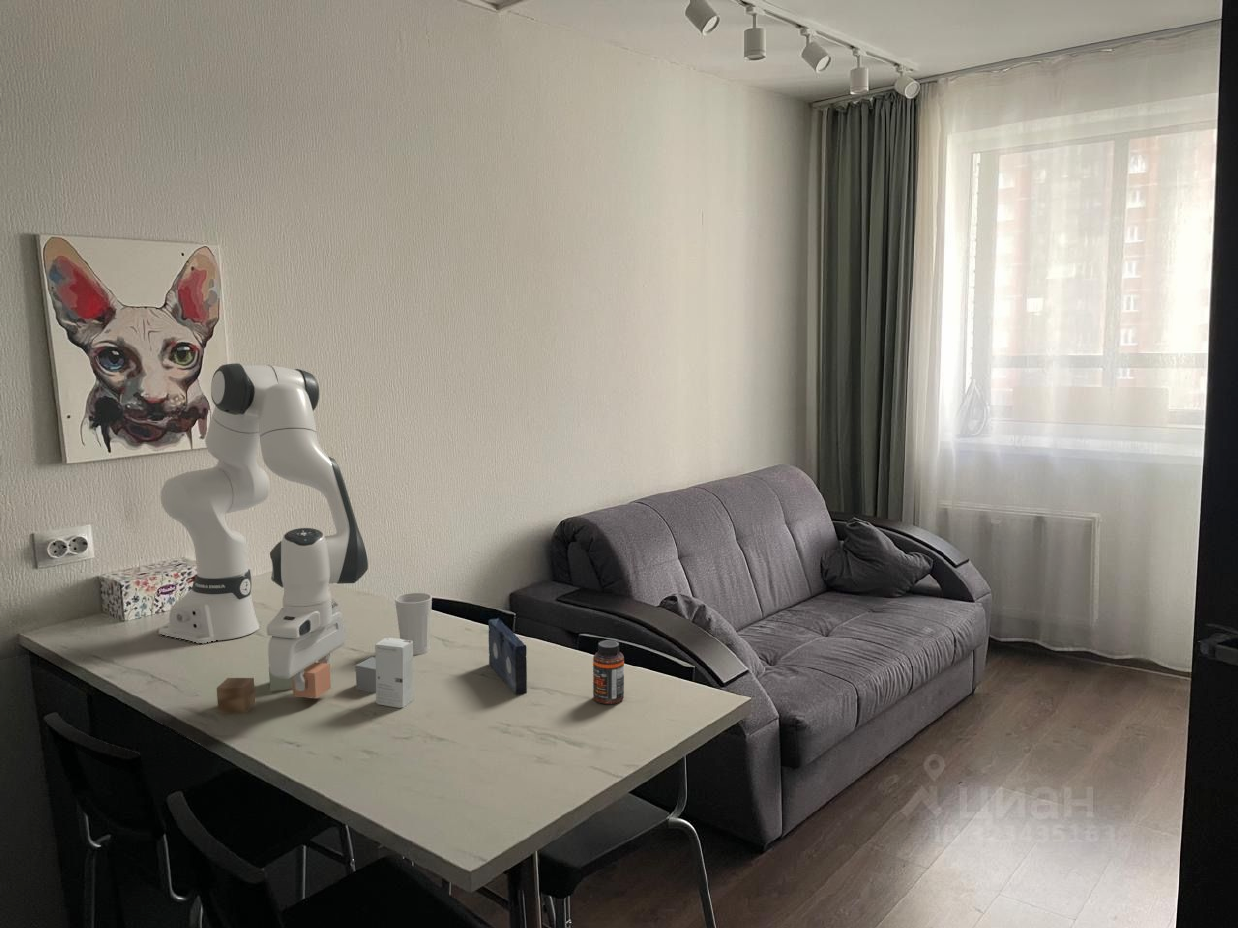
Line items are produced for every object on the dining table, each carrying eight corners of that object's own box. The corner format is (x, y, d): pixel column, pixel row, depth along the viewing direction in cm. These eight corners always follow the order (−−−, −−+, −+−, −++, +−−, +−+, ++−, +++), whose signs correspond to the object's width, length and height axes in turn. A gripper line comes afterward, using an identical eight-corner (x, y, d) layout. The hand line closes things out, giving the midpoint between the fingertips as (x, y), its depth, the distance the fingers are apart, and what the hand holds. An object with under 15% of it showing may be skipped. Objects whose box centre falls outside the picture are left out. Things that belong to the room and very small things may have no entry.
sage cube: (270, 691, 187) (268, 667, 186) (272, 681, 192) (271, 658, 191) (296, 688, 188) (295, 664, 187) (298, 679, 193) (297, 656, 192)
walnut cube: (218, 713, 176) (216, 687, 176) (229, 702, 181) (227, 677, 181) (244, 713, 176) (243, 688, 176) (255, 702, 181) (253, 677, 181)
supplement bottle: (586, 699, 182) (586, 643, 180) (607, 690, 186) (606, 635, 184) (610, 708, 178) (609, 650, 176) (630, 698, 182) (630, 642, 180)
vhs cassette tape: (527, 693, 185) (526, 645, 183) (513, 696, 184) (512, 647, 182) (502, 662, 202) (501, 617, 200) (488, 664, 201) (487, 619, 199)
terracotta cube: (293, 695, 180) (291, 670, 180) (308, 685, 185) (307, 661, 184) (316, 698, 179) (314, 673, 178) (330, 688, 184) (329, 663, 183)
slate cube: (356, 689, 188) (355, 665, 187) (373, 680, 192) (372, 656, 191) (376, 693, 185) (375, 669, 185) (392, 684, 190) (391, 660, 189)
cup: (438, 644, 213) (436, 592, 211) (427, 656, 205) (425, 603, 203) (403, 643, 214) (401, 591, 212) (392, 655, 206) (389, 602, 204)
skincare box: (375, 705, 180) (372, 644, 178) (387, 696, 184) (385, 636, 182) (404, 708, 178) (401, 647, 176) (416, 699, 182) (413, 639, 180)
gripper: (324, 597, 190) (327, 662, 193) (260, 629, 171) (264, 701, 173) (352, 599, 189) (355, 665, 191) (290, 633, 169) (294, 705, 171)
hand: (311, 683), depth 182 cm, fingers closed on terracotta cube, 5 cm apart
